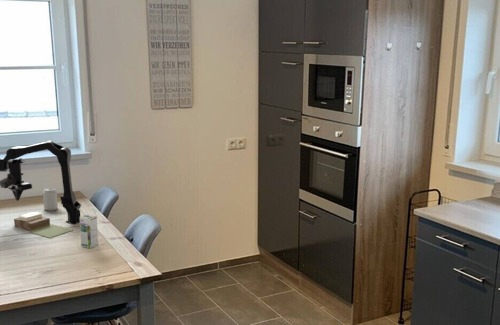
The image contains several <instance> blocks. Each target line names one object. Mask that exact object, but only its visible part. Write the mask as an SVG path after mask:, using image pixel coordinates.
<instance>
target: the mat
mask: <svg viewBox="0 0 500 325" xmlns="http://www.w3.org/2000/svg"><path fill="white" fill-rule="evenodd" d="M70 232H74V229H71V228H67V227H64V226H61V225H60V226H59V225H57V224H54V223H53V224H50V225H48V226H45V227H42V228H39V229H35V230H32V231H28V233H30V234H33V235H37V236H40V237H43V238H48V239H52V238H55V237H58V236H61V235H63V234H66V233H67V234H68V233H70Z"/></svg>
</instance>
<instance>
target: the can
mask: <svg viewBox="0 0 500 325" xmlns="http://www.w3.org/2000/svg"><path fill="white" fill-rule="evenodd" d="M42 199H43V201H42V202H43V209H44V210H45V211H49V212H51V211H56V210H57V208H59V207H58V192H57V190H56V187H55V188H54V187H47V188H43V191H42Z"/></svg>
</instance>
